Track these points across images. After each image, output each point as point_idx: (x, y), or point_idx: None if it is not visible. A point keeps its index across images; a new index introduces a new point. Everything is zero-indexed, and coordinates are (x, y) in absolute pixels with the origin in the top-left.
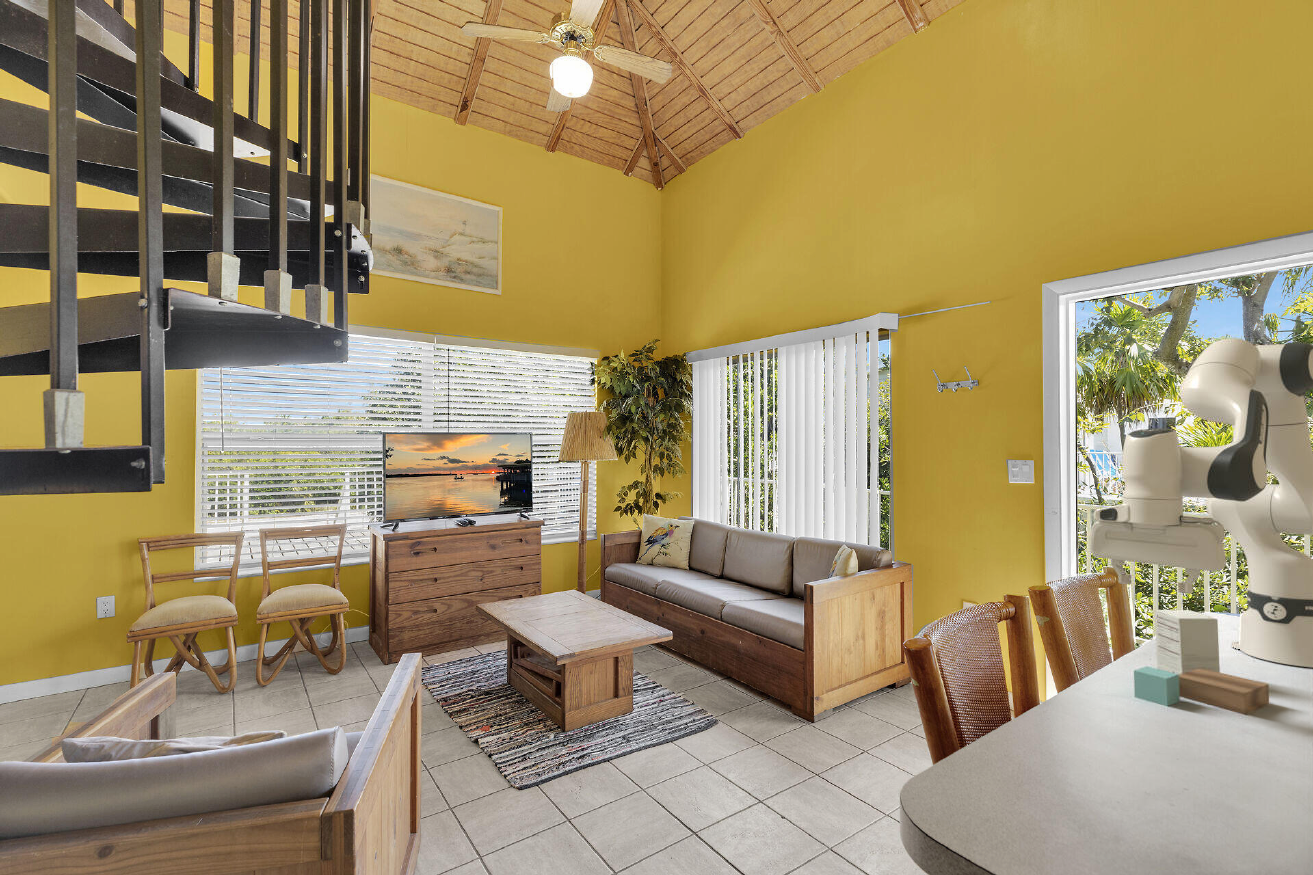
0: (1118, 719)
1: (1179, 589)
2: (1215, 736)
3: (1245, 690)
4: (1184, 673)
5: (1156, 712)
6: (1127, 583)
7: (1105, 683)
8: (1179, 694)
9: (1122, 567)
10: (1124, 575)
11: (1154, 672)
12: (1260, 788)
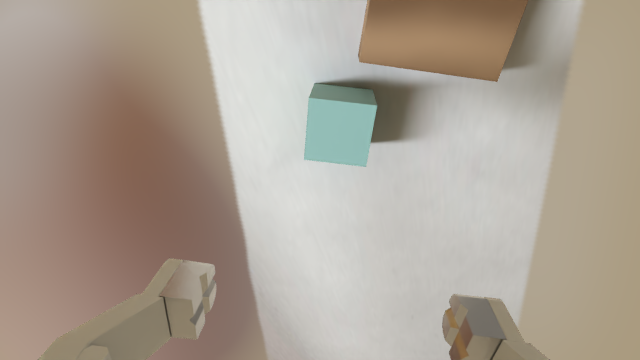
0: (331, 256)
1: (450, 340)
2: (440, 225)
3: (501, 50)
4: (371, 11)
5: (359, 189)
6: (214, 298)
7: (243, 96)
8: (373, 93)
9: (114, 331)
10: (184, 336)
11: (336, 139)
12: None
